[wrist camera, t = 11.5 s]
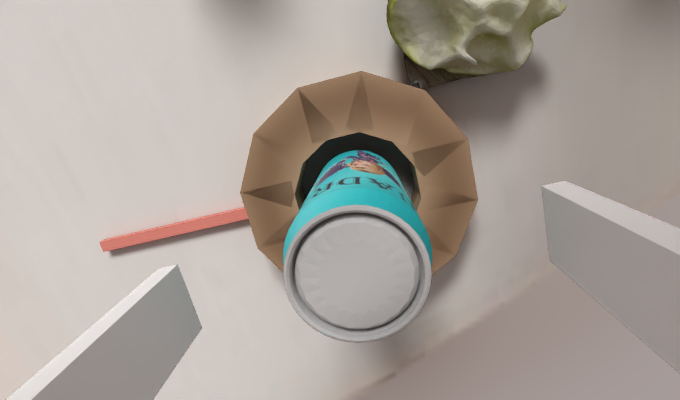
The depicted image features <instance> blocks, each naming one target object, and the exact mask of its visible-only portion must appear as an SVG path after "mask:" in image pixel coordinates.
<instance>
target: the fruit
mask: <svg viewBox="0 0 680 400" xmlns="http://www.w3.org/2000/svg"><path fill="white" fill-rule="evenodd" d="M565 9H566V5H565V4H563V3H562V2H561V1H560V0H388V5H387V23H388V27H389V30H390V33H391V36H392V37H393V39H394V40H395V42H396V43H397V44H398V46H399V47H400V48H401V49H402V50H403V52H404V58H405V64H406V69H407V74H408V77H409V81H410V84H411V86H413V87H414V85H418V87H419V89H427V88H430V87H433V86H436V85H439V84H443V83H446V82H450V81H454V80H458V79H462V78H467V77H474V76H481V75H487V74H494V73H500V72H507V71H513V70H518V69H519V68H520V67H521V66H522V65H524V63H525V62H526V60H527V59H528V57H529V55H530V53H531V50H532V47H533V40H532V38H531V34H532V32H533V31H534V30H535V29H536V28H537V27H539V26H540V25H542V24H544V23H545V22H547V21H549V20H551V19H553V18H556V17H558V16H560V15H561V14H562V12H563V11H564V10H565Z"/></svg>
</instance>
